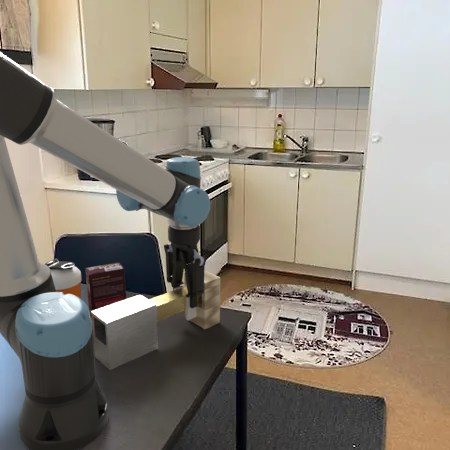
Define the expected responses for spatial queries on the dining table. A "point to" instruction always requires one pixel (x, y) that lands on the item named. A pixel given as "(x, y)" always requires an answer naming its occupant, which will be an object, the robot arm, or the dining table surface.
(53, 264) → the shaker bottle
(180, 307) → the yellow square bar
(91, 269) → the supplement box
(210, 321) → the socket
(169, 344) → the dining table surface
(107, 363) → the sleeve
